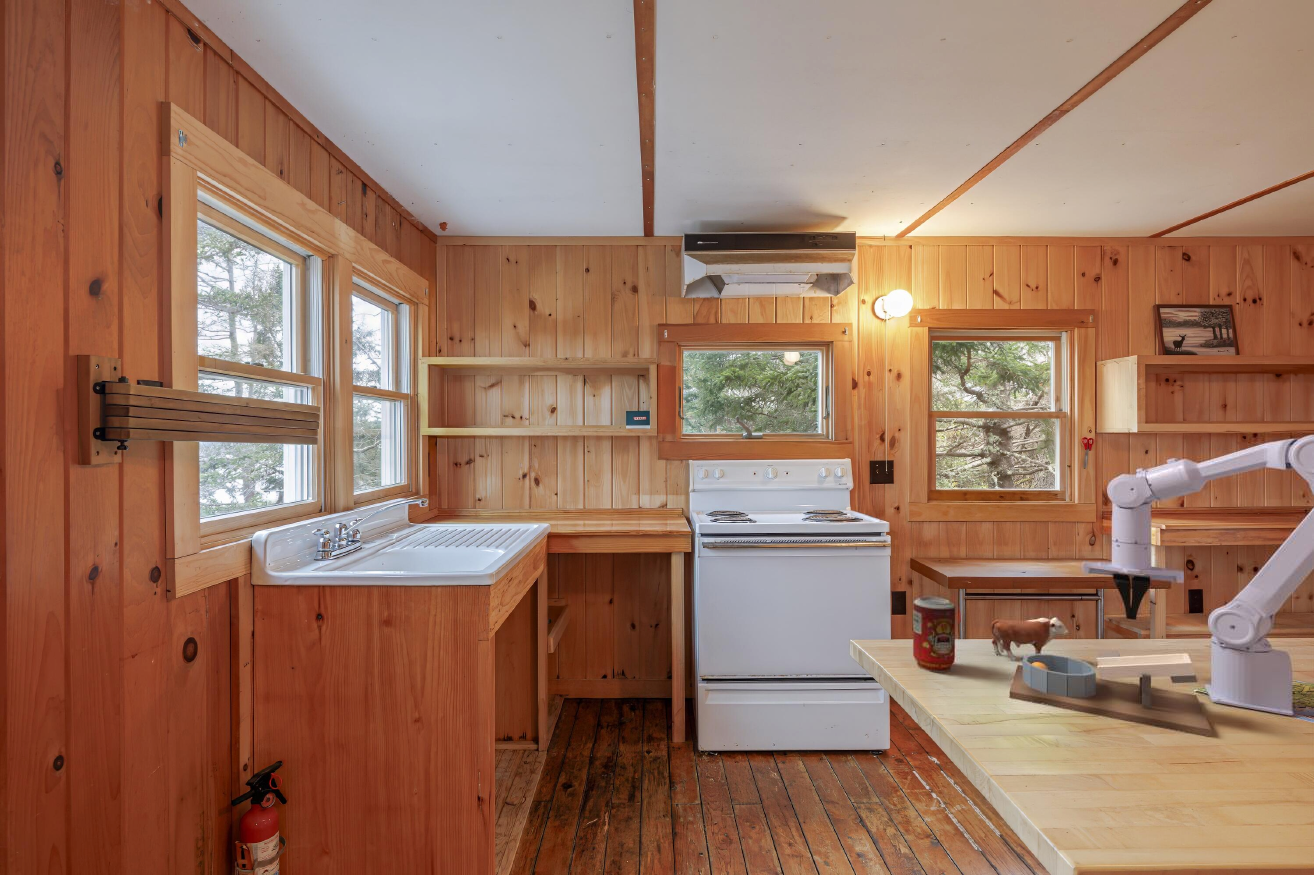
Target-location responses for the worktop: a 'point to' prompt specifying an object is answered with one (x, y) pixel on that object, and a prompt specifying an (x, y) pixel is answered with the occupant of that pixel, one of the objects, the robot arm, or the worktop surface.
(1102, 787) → the worktop surface
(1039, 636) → the bull figurine
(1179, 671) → the tilted wooden ramp
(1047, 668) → the ball
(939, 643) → the soda can
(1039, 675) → the bowl
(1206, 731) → the base board
